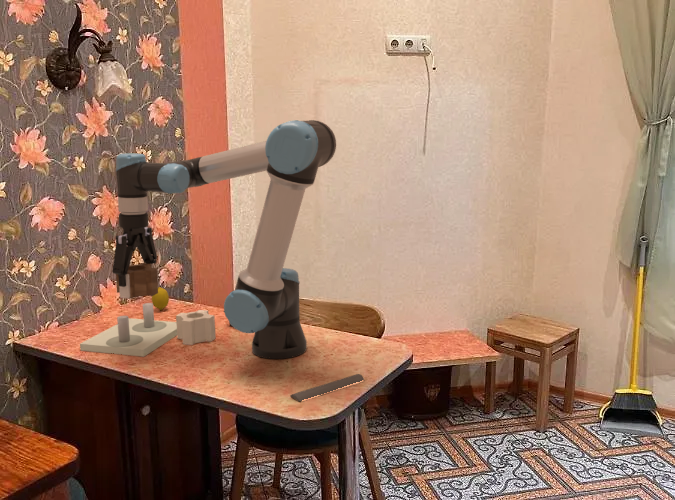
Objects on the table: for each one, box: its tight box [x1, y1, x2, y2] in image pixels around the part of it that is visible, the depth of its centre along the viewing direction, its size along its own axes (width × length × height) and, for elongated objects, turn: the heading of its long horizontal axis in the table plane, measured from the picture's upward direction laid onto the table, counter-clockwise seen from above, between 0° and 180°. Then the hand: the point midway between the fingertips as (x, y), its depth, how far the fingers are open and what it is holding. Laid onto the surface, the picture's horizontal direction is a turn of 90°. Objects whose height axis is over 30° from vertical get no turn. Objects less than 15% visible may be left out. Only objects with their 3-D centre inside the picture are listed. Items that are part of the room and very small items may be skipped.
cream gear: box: [175, 309, 217, 346], centre depth 194 cm, size 11×11×7 cm
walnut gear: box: [115, 262, 159, 300], centre depth 180 cm, size 11×11×7 cm
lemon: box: [151, 286, 170, 311], centre depth 222 cm, size 6×6×8 cm
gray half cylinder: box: [290, 373, 365, 402], centre depth 158 cm, size 4×20×2 cm, turn 127°
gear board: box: [79, 302, 177, 358], centre depth 193 cm, size 20×24×9 cm
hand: (137, 291), depth 181 cm, fingers closed on walnut gear, 11 cm apart
